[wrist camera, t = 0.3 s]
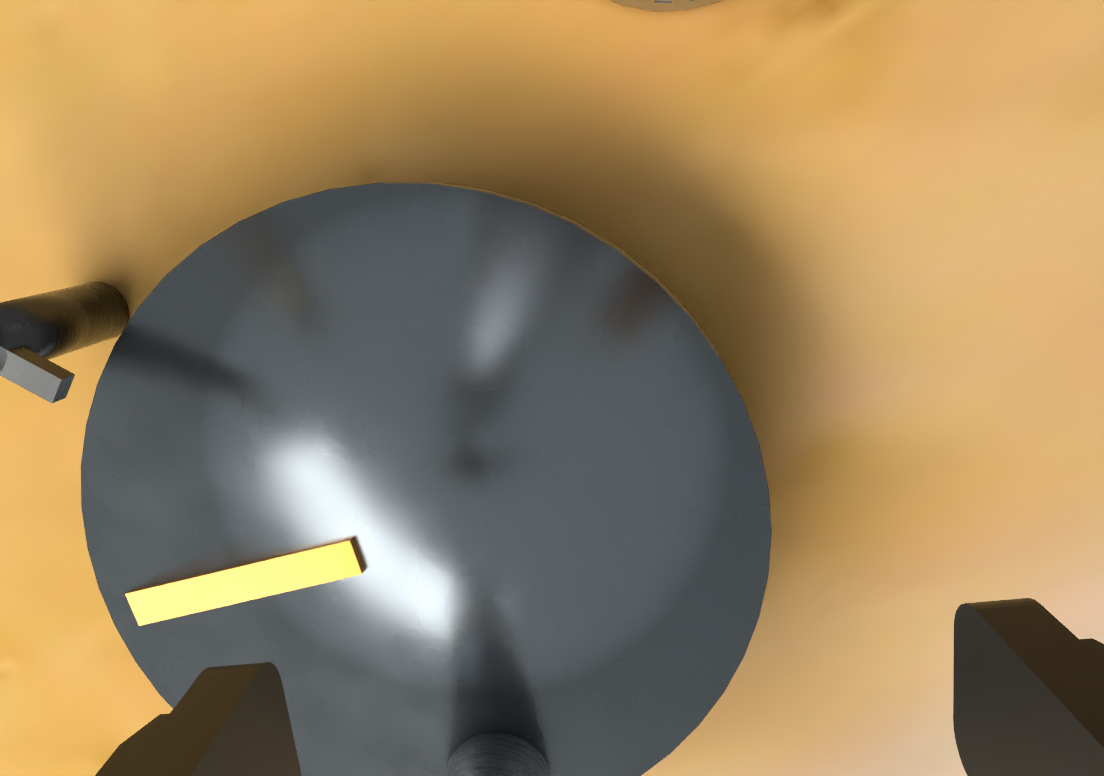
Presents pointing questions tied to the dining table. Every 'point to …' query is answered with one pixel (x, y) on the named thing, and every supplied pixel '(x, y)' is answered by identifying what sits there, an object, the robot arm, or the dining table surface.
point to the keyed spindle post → (56, 333)
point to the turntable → (430, 487)
